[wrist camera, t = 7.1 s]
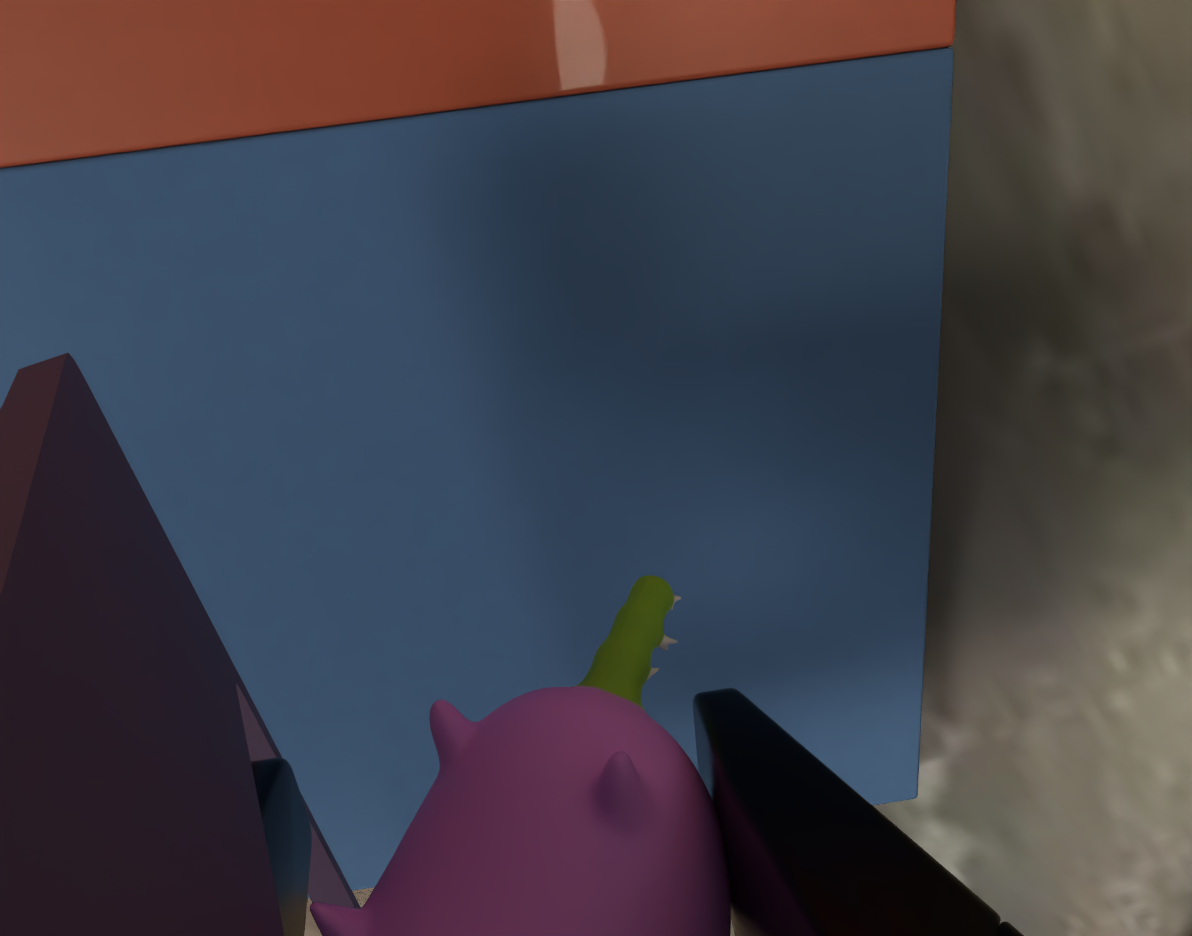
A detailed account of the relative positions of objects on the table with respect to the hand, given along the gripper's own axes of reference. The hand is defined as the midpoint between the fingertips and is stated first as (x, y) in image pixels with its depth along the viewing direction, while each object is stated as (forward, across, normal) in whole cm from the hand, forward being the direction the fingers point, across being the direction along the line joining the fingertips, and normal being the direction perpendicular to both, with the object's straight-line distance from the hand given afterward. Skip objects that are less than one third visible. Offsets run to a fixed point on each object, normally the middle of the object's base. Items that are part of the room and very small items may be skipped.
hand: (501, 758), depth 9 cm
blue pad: (+4, 0, 0) cm, 4 cm away
